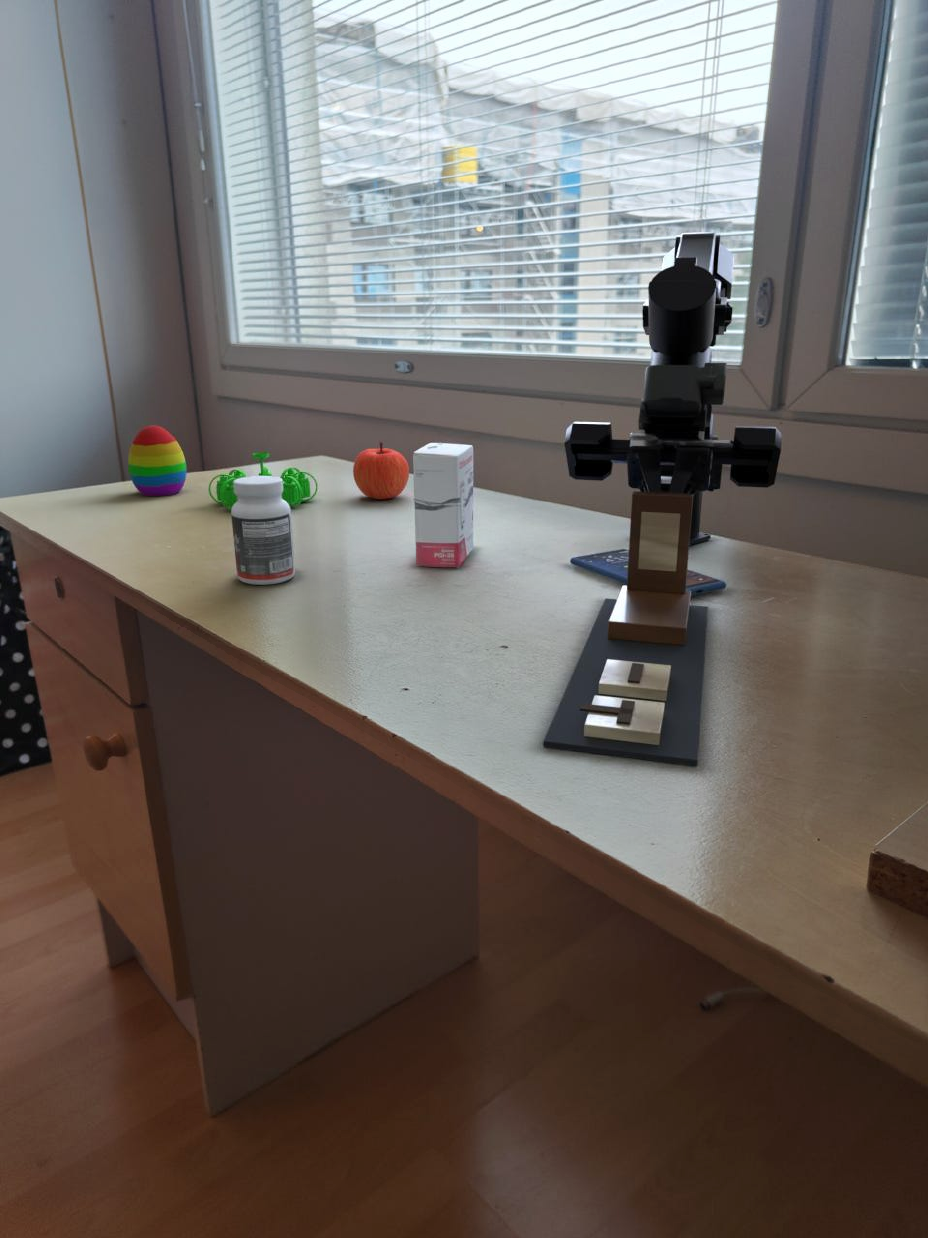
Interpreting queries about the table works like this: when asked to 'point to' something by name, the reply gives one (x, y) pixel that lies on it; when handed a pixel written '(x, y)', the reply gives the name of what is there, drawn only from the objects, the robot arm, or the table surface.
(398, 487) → the apple
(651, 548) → the brown picture frame
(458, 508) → the ink box
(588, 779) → the table surface
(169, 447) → the decorative egg
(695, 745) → the word mat
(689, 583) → the smartphone
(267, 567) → the pill bottle
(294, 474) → the chandelier
